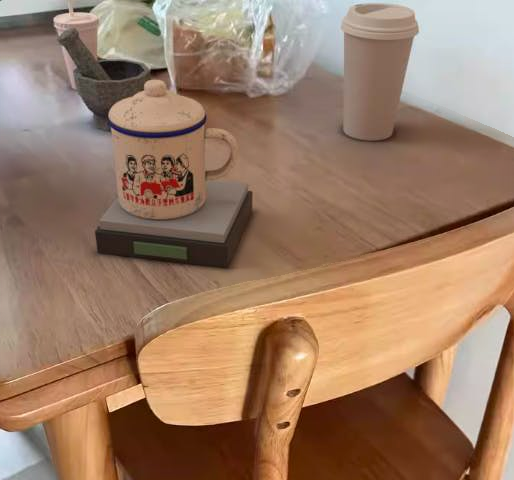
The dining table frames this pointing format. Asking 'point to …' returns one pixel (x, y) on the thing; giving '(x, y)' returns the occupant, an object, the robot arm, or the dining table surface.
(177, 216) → the teacup with lid
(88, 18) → the smoothie
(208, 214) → the scale
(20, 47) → the dining table surface
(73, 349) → the dining table surface
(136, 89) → the mortar and pestle
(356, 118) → the coffee cup
